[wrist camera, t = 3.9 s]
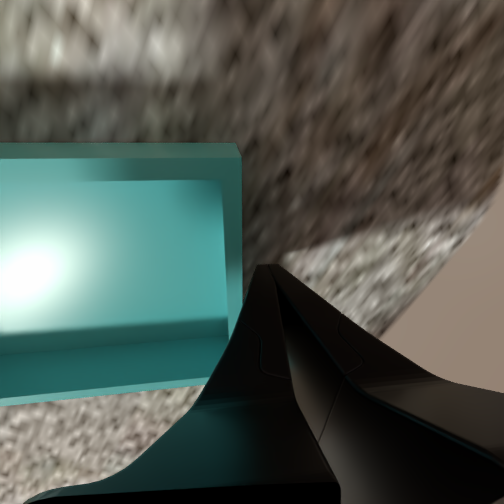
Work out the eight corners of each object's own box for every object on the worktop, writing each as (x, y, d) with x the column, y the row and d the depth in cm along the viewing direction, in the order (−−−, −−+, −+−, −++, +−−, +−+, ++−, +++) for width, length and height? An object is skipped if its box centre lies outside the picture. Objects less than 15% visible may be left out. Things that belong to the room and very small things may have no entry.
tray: (238, 335, 12) (242, 380, 10) (-26, 357, 11) (-80, 414, 9) (235, 142, 8) (241, 157, 6) (-223, 142, 6) (-426, 161, 4)
